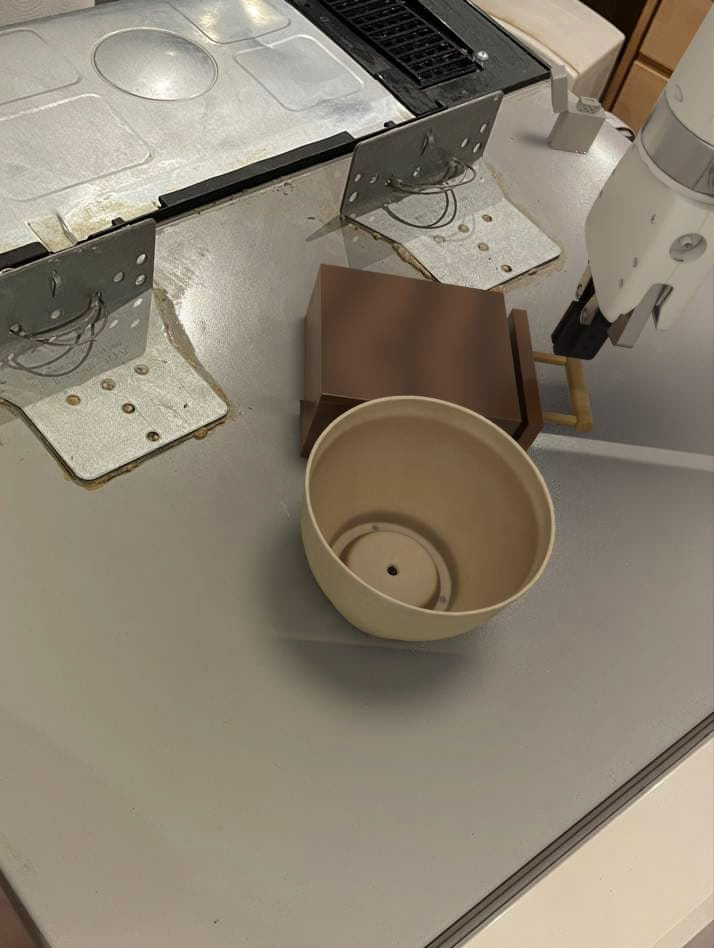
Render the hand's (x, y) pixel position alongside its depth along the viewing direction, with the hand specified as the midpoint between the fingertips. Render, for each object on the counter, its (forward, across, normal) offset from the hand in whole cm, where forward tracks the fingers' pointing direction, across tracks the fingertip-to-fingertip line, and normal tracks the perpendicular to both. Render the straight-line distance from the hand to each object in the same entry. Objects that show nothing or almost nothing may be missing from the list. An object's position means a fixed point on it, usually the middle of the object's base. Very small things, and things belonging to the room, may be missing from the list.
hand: (570, 349), depth 73 cm
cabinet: (+9, 0, +11) cm, 14 cm away
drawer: (+8, 0, +6) cm, 10 cm away
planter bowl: (+9, -16, +12) cm, 22 cm away
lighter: (+9, +37, -8) cm, 39 cm away
